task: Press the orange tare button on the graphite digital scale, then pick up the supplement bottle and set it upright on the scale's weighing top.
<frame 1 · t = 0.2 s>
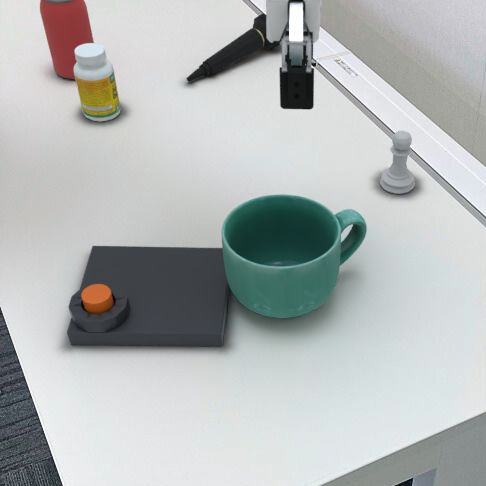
hand: (297, 82, 78), 22 cm above the table, tool pointing down, fingers open, 9 cm apart
beer can: (77, 71, 120), on the table
microphone: (234, 61, 125), on the table
scale: (156, 300, 87), on the table
chess piece: (396, 185, 104), on the table
supplement bottle: (102, 113, 112), on the table
tare button: (97, 298, 81), point 4 cm above the table, slide at 0.1 cm
mug: (298, 291, 89), on the table
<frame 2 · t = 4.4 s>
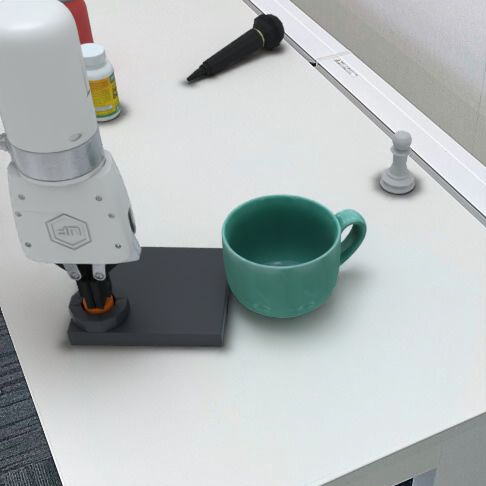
hand: (98, 299, 81), 4 cm above the table, tool pointing down, fingers closed
tare button: (99, 304, 81), point 3 cm above the table, slide at -0.7 cm, touching gripper
everything else where it was.
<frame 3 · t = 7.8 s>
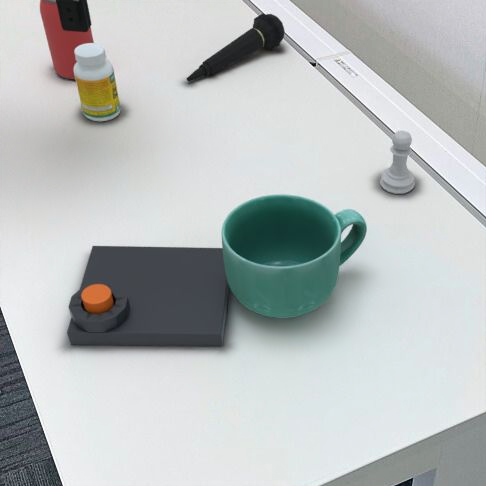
hand: (77, 28, 95), 16 cm above the table, tool pointing down, fingers closed
tare button: (97, 299, 81), point 4 cm above the table, slide at 0.1 cm
everything else where it was.
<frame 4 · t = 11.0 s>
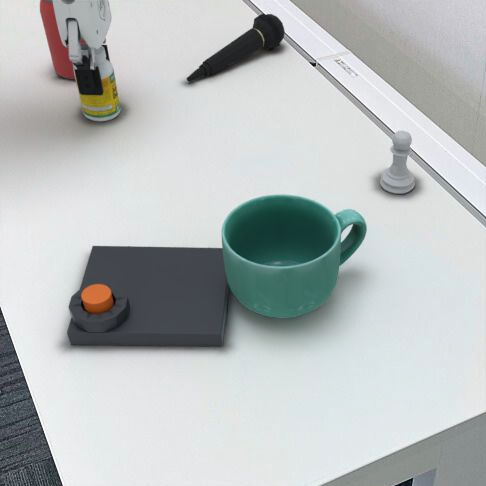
hand: (95, 81, 109), 5 cm above the table, tool pointing down, fingers closed on supplement bottle, 5 cm apart
supplement bottle: (102, 113, 112), on the table, touching gripper
everything else where it was.
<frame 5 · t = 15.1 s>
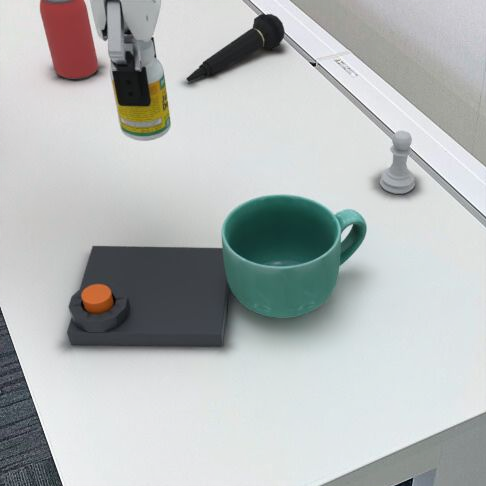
hand: (139, 87, 80), 20 cm above the table, tool pointing down, fingers closed on supplement bottle, 5 cm apart
supplement bottle: (146, 130, 84), point 15 cm above the table, touching gripper
everything else where it was.
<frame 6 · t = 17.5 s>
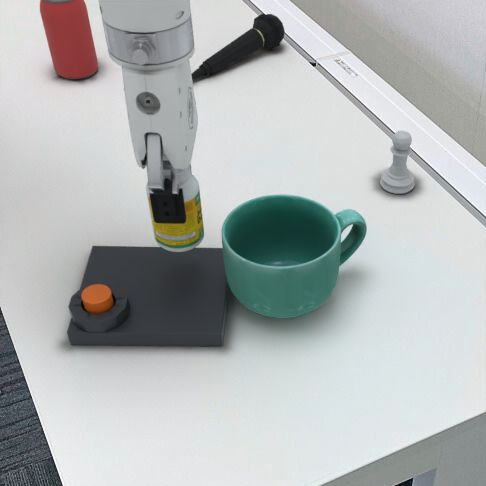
hand: (174, 201, 80), 11 cm above the table, tool pointing down, fingers closed on supplement bottle, 5 cm apart
supplement bottle: (180, 239, 84), point 6 cm above the table, touching gripper
everything else where it was.
when the fingers open (7 cm above the table, at t = 19.3 s): supplement bottle stays where it is, resting on scale.
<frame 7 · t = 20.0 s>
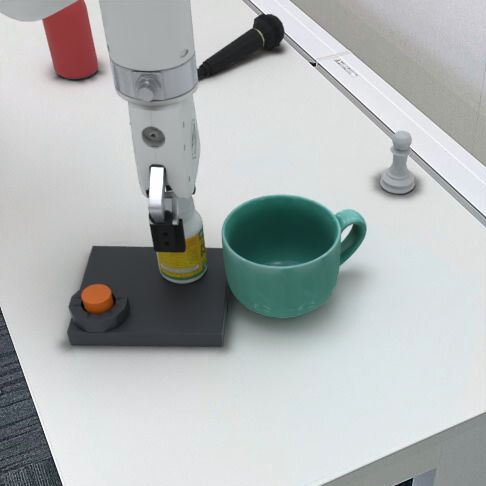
hand: (176, 220, 82), 9 cm above the table, tool pointing down, fingers open, 9 cm apart
supplement bottle: (184, 270, 88), point 2 cm above the table, touching scale
everything else where it was.
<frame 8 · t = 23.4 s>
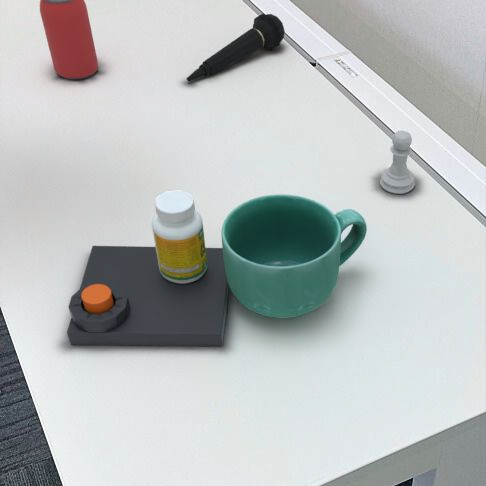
nothing on the table moved.
at the end: tare button pushed in 0.9 cm at the most during the clip, back to where it started at the end; tare button slide at 0.1 cm; supplement bottle inside the target area on the scale (4.3 cm from its centre), point 1.7 cm above the scale's base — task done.
